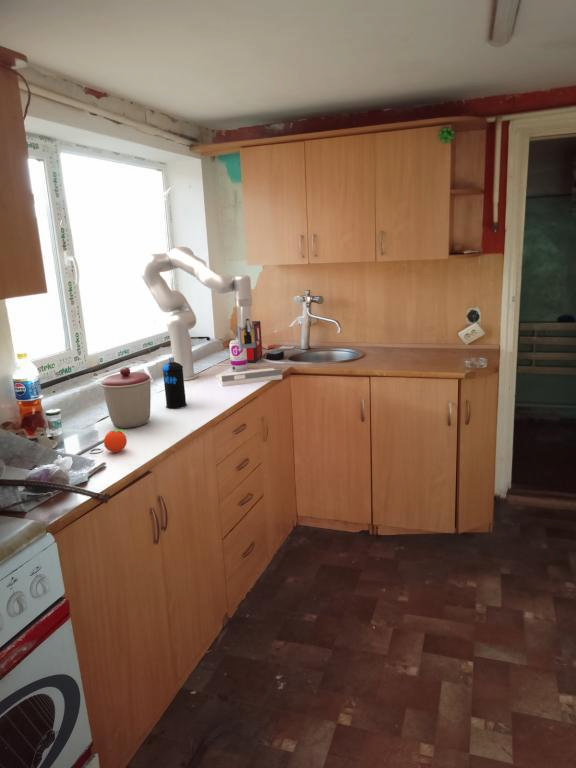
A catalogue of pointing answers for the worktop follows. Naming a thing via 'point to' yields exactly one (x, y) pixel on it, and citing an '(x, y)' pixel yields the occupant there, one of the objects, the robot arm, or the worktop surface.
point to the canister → (128, 398)
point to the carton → (241, 338)
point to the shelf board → (249, 376)
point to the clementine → (115, 441)
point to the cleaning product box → (255, 352)
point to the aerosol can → (174, 385)
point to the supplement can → (237, 357)
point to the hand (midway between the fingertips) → (246, 342)
